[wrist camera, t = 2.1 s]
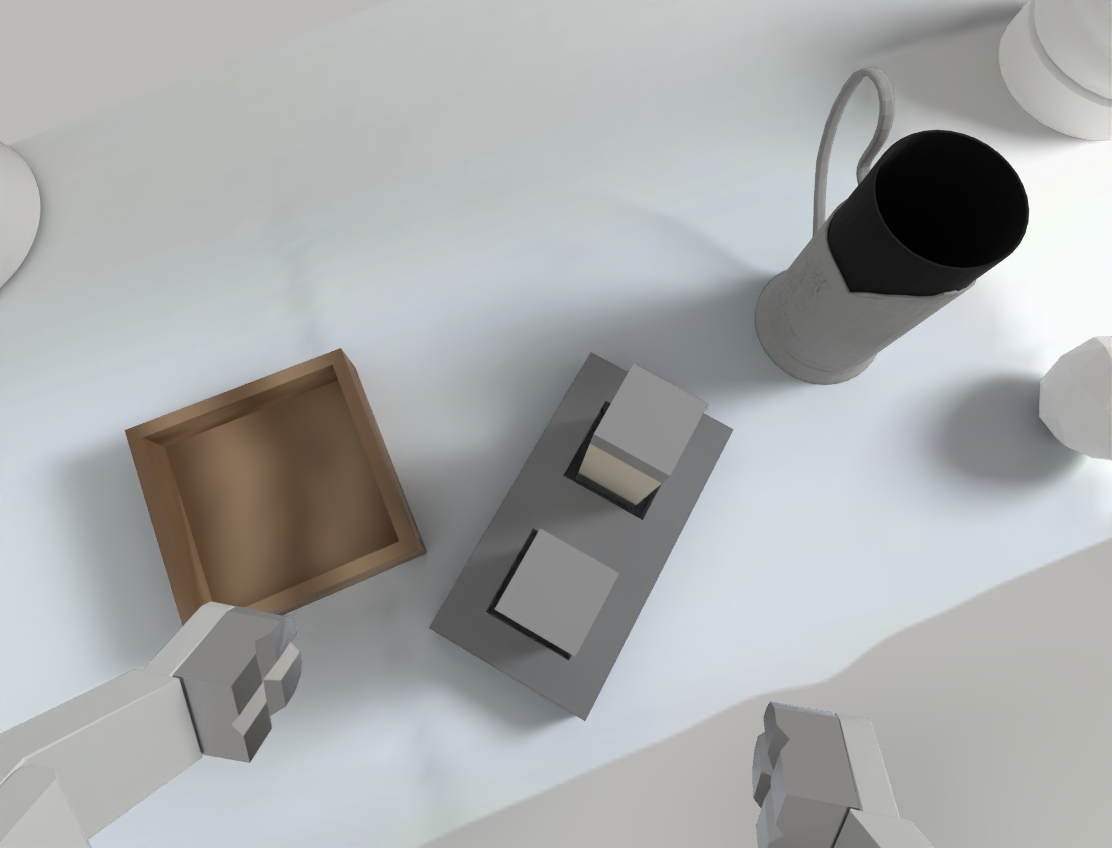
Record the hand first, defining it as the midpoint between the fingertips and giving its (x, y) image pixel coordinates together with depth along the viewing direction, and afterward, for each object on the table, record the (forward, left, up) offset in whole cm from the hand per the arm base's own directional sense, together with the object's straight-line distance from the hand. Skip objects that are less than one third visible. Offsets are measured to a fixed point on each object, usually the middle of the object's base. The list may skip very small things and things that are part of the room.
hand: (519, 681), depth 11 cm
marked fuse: (+2, +1, -30) cm, 30 cm away
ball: (+39, -2, -30) cm, 49 cm away
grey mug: (+27, +13, -30) cm, 42 cm away
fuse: (+9, +6, -30) cm, 32 cm away
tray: (-10, +13, -30) cm, 34 cm away
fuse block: (+6, +4, -30) cm, 31 cm away
